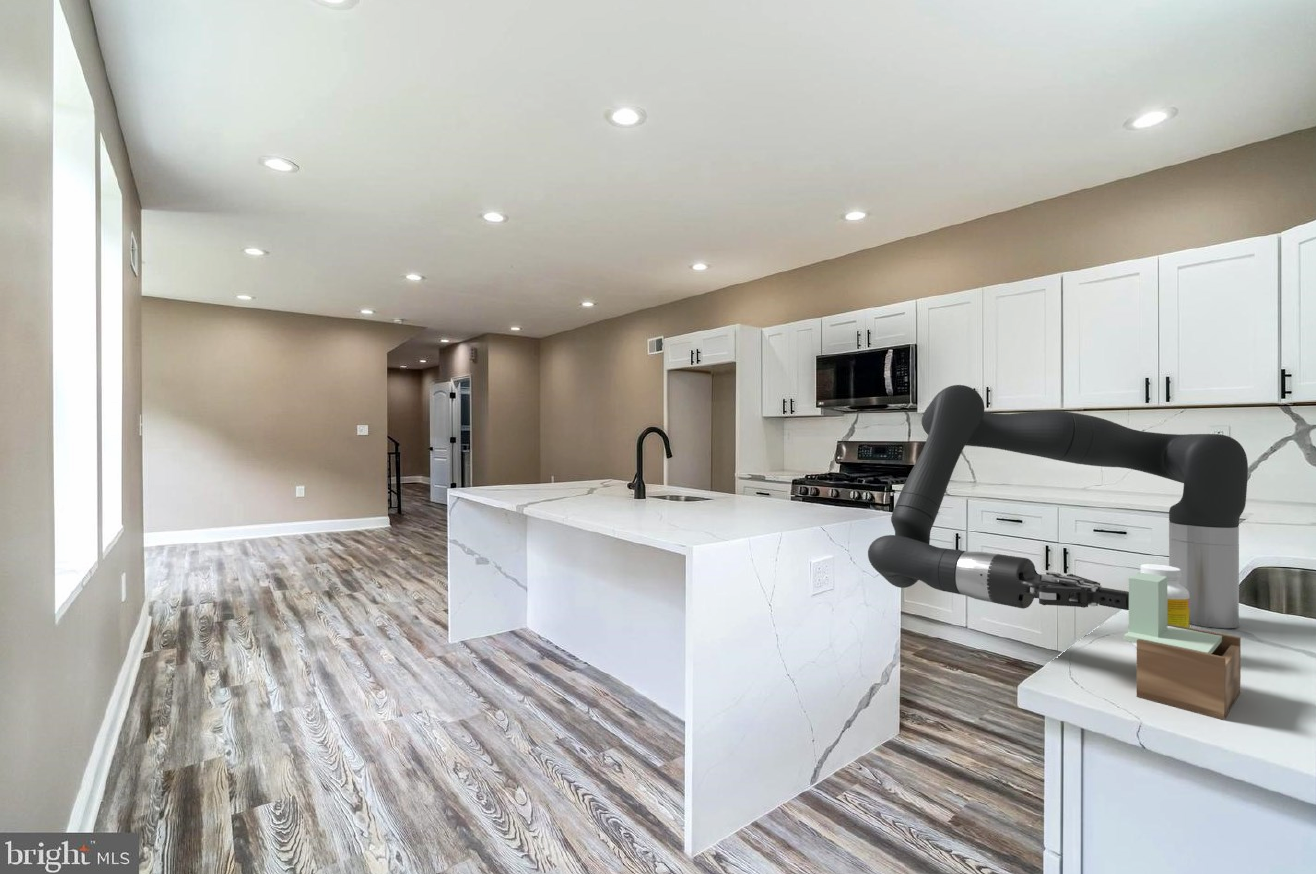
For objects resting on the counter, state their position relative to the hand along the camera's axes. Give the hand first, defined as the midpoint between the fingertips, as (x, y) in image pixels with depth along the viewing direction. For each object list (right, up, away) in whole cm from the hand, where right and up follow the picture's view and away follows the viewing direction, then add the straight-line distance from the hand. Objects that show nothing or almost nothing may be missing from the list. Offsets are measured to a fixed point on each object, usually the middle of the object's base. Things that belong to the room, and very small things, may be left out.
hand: (1133, 601), depth 80 cm
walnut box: (+3, -11, -4) cm, 12 cm away
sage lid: (+2, -4, -3) cm, 6 cm away
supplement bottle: (+13, -11, +11) cm, 20 cm away
